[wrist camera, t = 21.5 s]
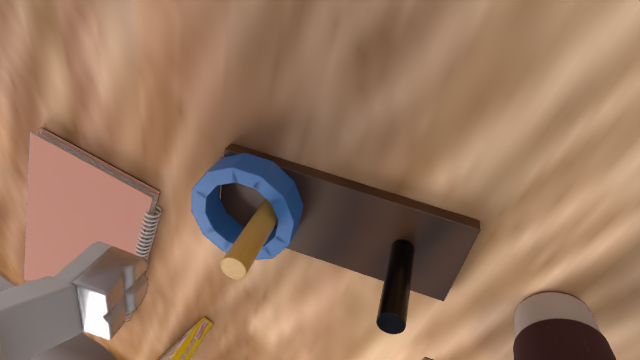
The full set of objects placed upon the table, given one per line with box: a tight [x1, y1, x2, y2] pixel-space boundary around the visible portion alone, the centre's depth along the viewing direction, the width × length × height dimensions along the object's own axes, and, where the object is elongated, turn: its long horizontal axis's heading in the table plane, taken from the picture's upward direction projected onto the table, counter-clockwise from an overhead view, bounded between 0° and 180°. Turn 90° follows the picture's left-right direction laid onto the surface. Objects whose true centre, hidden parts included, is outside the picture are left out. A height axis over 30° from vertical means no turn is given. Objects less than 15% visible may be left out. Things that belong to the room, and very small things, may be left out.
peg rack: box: [221, 143, 480, 334], centre depth 41 cm, size 26×10×12 cm, turn 79°
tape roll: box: [191, 153, 303, 260], centre depth 45 cm, size 11×11×3 cm
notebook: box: [24, 128, 161, 322], centre depth 57 cm, size 27×17×2 cm, turn 156°
